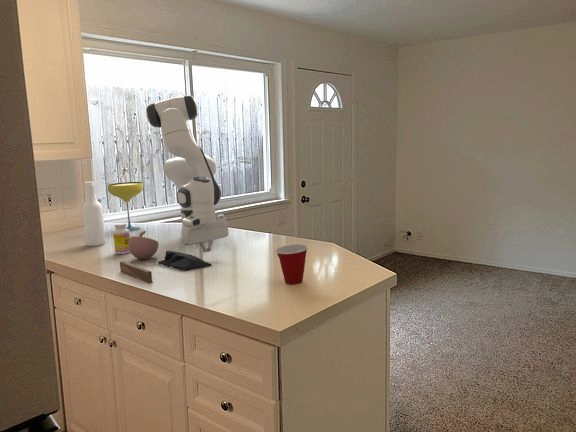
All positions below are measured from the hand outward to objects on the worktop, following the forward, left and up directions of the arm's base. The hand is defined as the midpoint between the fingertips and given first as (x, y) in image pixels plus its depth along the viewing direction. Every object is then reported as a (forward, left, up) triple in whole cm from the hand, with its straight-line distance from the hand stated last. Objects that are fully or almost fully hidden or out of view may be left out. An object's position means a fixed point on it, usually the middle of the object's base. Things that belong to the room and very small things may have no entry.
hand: (207, 251), depth 198 cm
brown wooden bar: (+30, 0, -3) cm, 30 cm away
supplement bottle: (+17, -40, -3) cm, 43 cm away
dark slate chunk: (+10, 0, -4) cm, 11 cm away
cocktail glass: (-9, -88, -3) cm, 88 cm away
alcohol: (+18, -67, -3) cm, 69 cm away
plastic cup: (-1, +49, -3) cm, 49 cm away
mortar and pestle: (+16, -22, -3) cm, 27 cm away
